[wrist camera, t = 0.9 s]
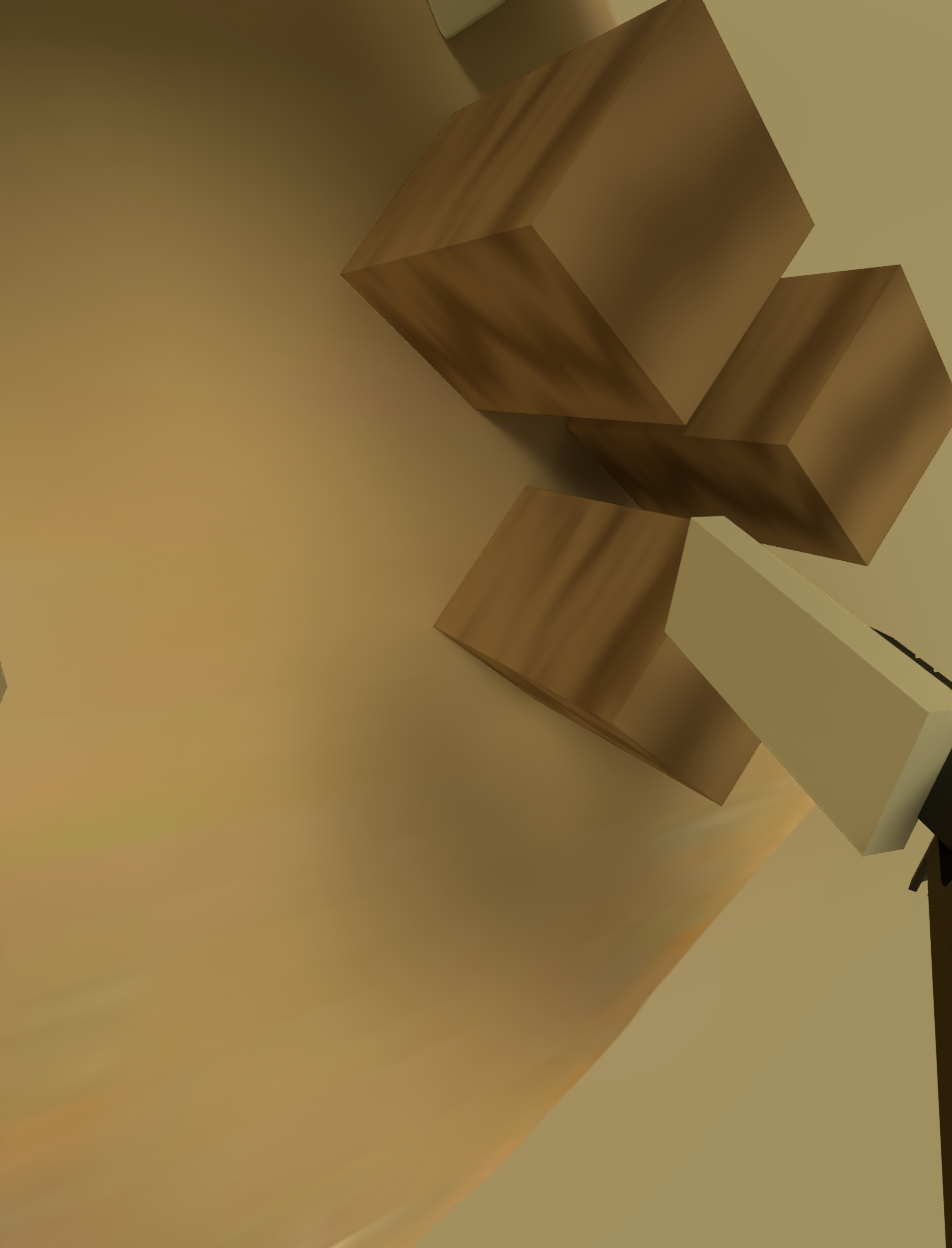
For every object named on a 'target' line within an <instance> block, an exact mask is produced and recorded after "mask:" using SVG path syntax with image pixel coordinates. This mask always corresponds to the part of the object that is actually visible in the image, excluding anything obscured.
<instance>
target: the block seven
mask: <svg viewBox="0 0 952 1248" xmlns="http://www.w3.org/2000/svg"><path fill="white" fill-rule="evenodd" d="M813 227H814V223H813V221H812V219H811V217H810V215H809V213H808V211H807V209H806V207H805V205H804V203H803V201H802V199H801V197H800V195H799V193H798V191H797V189H796V187H795V185H794V183H793V181H792V179H791V177H790V175H789V173H788V171H787V169H786V167H785V165H784V163H783V161H782V159H781V157H780V155H779V153H778V151H777V149H776V147H775V145H774V143H773V141H772V139H771V137H770V135H769V133H768V131H767V129H766V127H765V125H764V123H763V121H762V119H761V117H760V114H759V112H758V111H757V108H756V106H755V104H754V102H753V100H752V99H751V96H750V94H749V93H748V90H747V89H746V86H745V85H744V83H743V80H742V78H741V77H740V74H739V73H738V70H737V69H736V66H735V65H734V62H733V61H732V59H731V56H730V54H729V52H728V50H727V48H726V46H725V44H724V43H723V40H722V38H721V37H720V34H719V32H718V30H717V28H716V26H715V24H714V22H713V20H712V18H711V16H710V14H709V12H708V10H707V9H706V6H705V4H704V3H703V1H702V0H667V1H665V2H663V3H661V4H659V5H657V6H656V7H654V8H652V9H650V10H648V11H646V12H644V13H642V14H640V15H638V16H637V17H635V18H633V19H631V20H629V21H627V22H625V23H623V24H622V25H620V26H618V27H616V28H614V29H612V30H610V31H608V32H606V33H604V34H603V35H601V36H599V37H597V38H595V39H593V40H591V41H589V42H587V43H586V44H584V45H582V46H580V47H578V48H576V49H574V50H572V51H570V52H568V53H567V54H565V55H563V56H561V57H559V58H557V59H555V60H553V61H551V62H550V63H548V64H546V65H544V66H542V67H540V68H538V69H536V70H534V71H533V72H531V73H529V74H527V75H525V76H523V77H521V78H519V79H517V80H516V81H514V82H512V83H510V84H508V85H506V86H504V87H502V88H500V89H499V90H497V91H495V92H493V93H491V94H489V95H487V96H485V97H483V98H481V99H480V100H478V101H476V102H474V103H472V104H470V105H468V106H466V107H464V108H463V109H461V110H459V111H457V112H455V113H454V115H453V116H452V117H451V119H450V120H449V122H448V123H447V124H446V126H445V127H444V129H443V130H442V131H441V133H440V134H439V136H438V137H437V139H436V140H435V141H434V143H433V144H432V146H431V147H430V148H429V150H428V151H427V153H426V154H425V155H424V157H423V158H422V160H421V161H420V163H419V164H418V165H417V167H416V168H415V170H414V171H413V172H412V174H411V175H410V177H409V178H408V179H407V181H406V182H405V184H404V185H403V187H402V188H401V189H400V191H399V192H398V194H397V195H396V196H395V198H394V199H393V201H392V202H391V203H390V205H389V206H388V208H387V209H386V211H385V212H384V213H383V215H382V216H381V218H380V219H379V220H378V222H377V223H376V225H375V226H374V227H373V229H372V230H371V232H370V233H369V235H368V236H367V237H366V239H365V240H364V242H363V243H362V244H361V246H360V247H359V249H358V250H357V251H356V253H355V254H354V256H353V257H352V259H351V260H350V261H349V263H348V264H347V266H346V267H345V268H344V270H343V271H342V273H341V275H342V276H343V277H344V278H345V279H346V280H347V281H348V282H349V283H350V284H351V285H352V286H353V287H354V288H355V289H356V290H357V291H358V292H359V293H360V294H361V295H362V296H363V297H364V298H365V299H366V300H367V301H368V302H369V303H370V304H371V305H372V306H373V307H374V308H375V309H376V310H377V311H378V312H379V313H380V314H381V315H382V316H383V317H384V318H385V319H386V320H387V321H388V322H389V323H390V324H391V325H392V326H393V327H394V328H395V329H396V330H397V331H398V332H399V333H400V334H401V335H402V336H403V337H404V338H405V339H406V340H407V341H408V342H409V343H410V344H411V345H412V346H413V347H414V348H415V349H416V350H417V351H418V352H419V353H420V354H421V355H422V356H423V357H424V358H425V359H426V360H427V361H428V362H429V363H430V364H431V365H432V366H433V367H434V368H435V369H436V370H437V371H438V372H439V373H440V374H441V375H442V376H443V377H444V378H445V379H446V380H447V381H448V382H449V383H450V384H451V385H452V386H453V387H454V388H455V389H456V390H457V391H458V392H459V393H460V394H461V395H462V396H463V397H464V398H465V399H466V400H467V401H468V402H469V403H470V404H471V405H472V406H473V407H474V408H475V409H476V410H486V411H500V412H513V413H527V414H540V415H554V416H567V417H581V418H594V419H608V420H621V421H635V422H648V423H661V424H675V425H686V424H687V422H688V421H689V419H690V418H691V416H692V414H693V413H694V411H695V410H696V408H697V407H698V405H699V404H700V402H701V401H702V399H703V397H704V396H705V394H706V393H707V391H708V390H709V388H710V387H711V385H712V383H713V382H714V380H715V379H716V377H717V376H718V374H719V373H720V371H721V369H722V368H723V366H724V365H725V363H726V362H727V360H728V359H729V357H730V356H731V354H732V352H733V351H734V349H735V348H736V346H737V345H738V343H739V342H740V340H741V338H742V337H743V335H744V334H745V332H746V331H747V329H748V328H749V326H750V324H751V323H752V321H753V320H754V318H755V317H756V315H757V314H758V312H759V311H760V309H761V307H762V306H763V304H764V303H765V301H766V300H767V298H768V297H769V295H770V293H771V292H772V290H773V289H774V287H775V286H776V284H777V283H778V281H779V279H780V278H781V276H782V275H783V273H784V272H785V270H786V269H787V267H788V265H789V264H790V262H791V261H792V259H793V258H794V256H795V255H796V253H797V252H798V250H799V248H800V247H801V245H802V244H803V242H804V241H805V239H806V237H807V236H808V234H809V233H810V231H811V230H812V228H813Z"/></svg>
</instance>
